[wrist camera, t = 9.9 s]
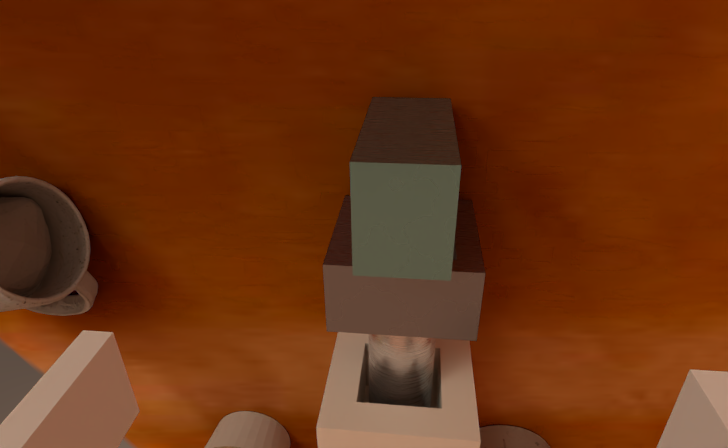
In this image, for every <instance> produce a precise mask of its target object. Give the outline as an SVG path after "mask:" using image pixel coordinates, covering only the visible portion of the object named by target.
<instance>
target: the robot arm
mask: <svg viewBox="0 0 728 448" xmlns="http://www.w3.org/2000/svg"><path fill="white" fill-rule="evenodd" d="M138 413H139V408H138V405H137V402H136V399H135V396H134V393H133V390H132V387H131V384H130V381H129V378H128V375H127V372H126V369H125V366H124V363H123V360H122V357H121V354H120V351H119V348H118V345H117V342H116V339H115V336H114V333H113V332H102V331H87V330H83V331H82V332H81V333H80V334H79V336H78V337H77V338H76V339H75V340H74V341H73V342H72V344H71V345H70V346H69V347H68V348H67V349H66V350H65V351H64V353H63V354H62V355H61V356H60V357H59V358H58V359H57V361H56V362H55V363H54V364H53V365H52V366H51V367H50V369H49V370H48V371H47V372H46V373H45V374H44V375H43V377H42V378H41V379H40V380H39V381H38V383H36V385H35V386H34V387H33V388H32V389H31V390H30V391H29V393H28V394H27V395H26V396H25V397H24V398H23V399H22V401H21V402H20V403H19V404H18V405H17V406H16V407H15V409H14V410H13V411H12V412H11V413H10V414H9V415H8V417H7V418H6V419H5V420H4V421H3V422H2V423H1V425H0V448H118V446H119V444H120V443H121V441H122V439H123V438H124V436H125V434H126V433H127V431H128V429H129V428H130V426H131V425H132V423H133V421H134V420H135V418H136V416H137V415H138ZM657 448H728V372H722V371H707V370H691V369H690V370H689V373H688V375H687V377H686V380H685V382H684V384H683V387H682V389H681V391H680V394H679V396H678V399H677V401H676V403H675V406H674V408H673V410H672V413H671V415H670V417H669V420H668V422H667V424H666V427H665V429H664V432H663V434H662V436H661V439H660V441H659V443H658V446H657Z"/></svg>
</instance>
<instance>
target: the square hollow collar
mask: <svg viewBox="0 0 728 448" xmlns="http://www.w3.org/2000/svg"><path fill="white" fill-rule="evenodd" d="M323 276H324V293H325V309H326V326H327V331H330V332H346V333H361V334H376V335H392V336H407V337H422V338H438V339H453V340H468V341H477V334H478V326H479V319H480V311H481V303H482V296H483V288H484V280H485V268H484V263H483V257H482V252H481V246H480V241H479V235H478V230H477V224H476V219H475V213H474V208H473V203H472V200H458V208H457V219H456V230H455V241H454V252H453V263H452V274H451V281H446V280H427V279H409V278H390V277H371V276H353V269H352V230H351V196H345V198H344V201H343V204H342V207H341V210H340V213H339V216H338V219H337V223H336V226H335V229H334V232H333V235H332V238H331V241H330V244H329V247H328V250H327V253H326V256H325V260H324V263H323Z"/></svg>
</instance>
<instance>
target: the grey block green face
mask: <svg viewBox="0 0 728 448" xmlns="http://www.w3.org/2000/svg"><path fill="white" fill-rule="evenodd" d="M460 175H461V160H460V154H459V148H458V142H457V136H456V129H455V123H454V117H453V111H452V105H451V99H450V98H394V97H373V98H372V100H371V103H370V106H369V109H368V112H367V115H366V117H365V120H364V123H363V126H362V129H361V131H360V134H359V137H358V140H357V143H356V146H355V148H354V151H353V154H352V157H351V160H350V192H351V230H352V269H353V276H371V277H390V278H409V279H427V280H446V281H451V274H452V263H453V252H454V241H455V230H456V219H457V208H458V197H459V186H460ZM368 337H369V403H376V404H389V405H402V406H414V407H427V408H430V407H431V394H432V382H433V369H434V356H435V343H436V338H422V337H407V336H392V335H376V334H368Z"/></svg>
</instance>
